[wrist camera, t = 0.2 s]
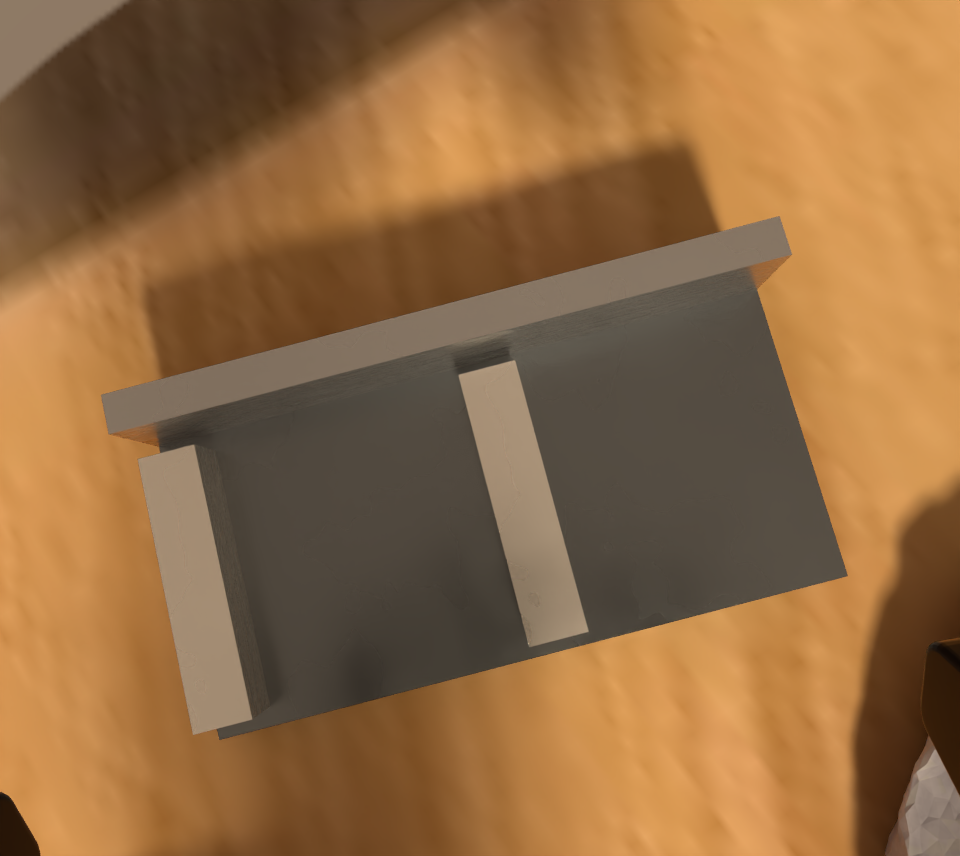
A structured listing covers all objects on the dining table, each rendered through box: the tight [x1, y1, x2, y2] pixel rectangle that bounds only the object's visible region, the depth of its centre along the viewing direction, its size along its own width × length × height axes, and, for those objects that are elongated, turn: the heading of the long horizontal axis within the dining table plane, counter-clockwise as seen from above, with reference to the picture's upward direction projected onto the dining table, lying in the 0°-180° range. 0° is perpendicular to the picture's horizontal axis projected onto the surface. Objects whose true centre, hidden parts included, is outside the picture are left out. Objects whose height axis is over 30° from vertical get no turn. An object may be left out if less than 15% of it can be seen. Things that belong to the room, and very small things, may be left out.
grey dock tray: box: [101, 216, 848, 740], centre depth 21 cm, size 9×17×4 cm, turn 105°
